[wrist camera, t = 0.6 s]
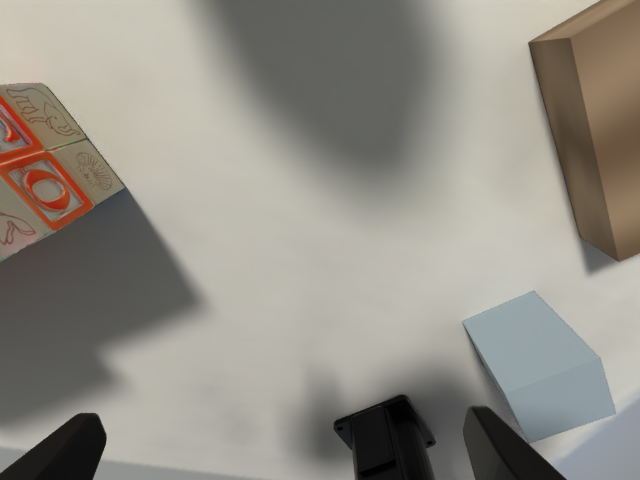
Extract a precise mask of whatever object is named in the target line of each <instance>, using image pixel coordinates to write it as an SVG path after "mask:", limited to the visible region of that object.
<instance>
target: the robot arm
mask: <svg viewBox="0 0 640 480" xmlns="http://www.w3.org/2000/svg"><path fill="white" fill-rule="evenodd" d="M334 430H335V432H336V433H337V434H338V435H339V436H340V438H341V439H342V440H343V441H344V442H345V443H346V444H347V446H348V447H349V448H350V449H351V450H352V453H353V463H354V473H355V480H435V477H434V473H433V470H432V467H431V463H430V460H429V457H428V453H427V450H426V448H428V447H431V446H433V445H435V443H436V441H435V438H434V436H433V434H432V433H431V431H430V430H429V428H428V427H427V425H426V424H425V422H424V421H423V420H422V418H421V417H420V415H419V414H418V412H417V411H416V409H415V408H414V406H413V405H412V403H411V402H410V400H409V399H408V397H407V396H404V395H401V396H398V397H395V398H393V399H390V400H388V401H385V402H383V403H380V404H377V405H375V406H372V407H370V408H367V409H365V410H362V411H360V412H357V413H355V414H352V415H350V416H347V417H345V418H342V419H340V420H337V421H335V422H334ZM463 435H464V440H465V443H466V447H467V451H468V454H469V458H470V461H471V465H472V469H473V472H474V476H475V479H476V480H567V479H566V478H565V477H563V476H562V475H561V474H560V473H559V472H558V471H557V470H556V469H555V468H554V467H553V466H552V465H551V464H549V463H548V462H547V461H546V460H545V459H544V458H543V457H542V456H541V455H540V454H539V453H538V452H536V451H535V450H534V449H533V448H532V447H531V446H530V445H529V444H528V443H527V442H526V441H525V440H523V439H522V438H521V437H520V436H519V435H518V434H517V433H516V432H515V431H514V430H513V429H512V428H511V427H509V426H508V425H507V424H506V423H505V422H504V421H503V420H502V419H501V418H500V417H499V416H498V415H496V414H495V413H494V412H493V411H492V410H491V409H490V408H489V407H487V406H483V405H482V406H470V407H469V408H468V410H467V415H466V419H465V423H464V427H463ZM106 439H107V437H106V432H105V430H104V427H103V425H102V423H101V420H100V418H99V416H98V414H96V413H80V414H77V415H75V416H74V417H72V418H71V419H70V420H69V421H67V422H66V423H65V424H63V425H62V426H61V427H60V428H58V429H57V430H56V431H54V432H53V433H52V434H50V435H49V436H48V437H47V438H45V439H44V440H43V441H41V442H40V443H39V444H37V445H36V446H35V447H34V448H32V449H31V450H30V451H28V452H27V453H26V454H25V455H23V456H22V457H21V458H19V459H18V460H17V461H15V462H14V463H13V464H12V465H10V466H9V467H8V468H6V469H5V470H4V471H3V472H1V473H0V480H93V477H94V474H95V472H96V469H97V467H98V464H99V461H100V459H101V456H102V453H103V451H104V448H105V445H106Z"/></svg>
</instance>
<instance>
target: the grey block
mask: <svg viewBox="0 0 640 480" xmlns="http://www.w3.org/2000/svg"><path fill="white" fill-rule="evenodd" d="M462 322H463V324H464V326H465V328H466V330H467V332H468V334H469V336H470V338H471V340H472V342H473V344H474V346H475V348H476V350H477V352H478V354H479V356H480V358H481V360H482V362H483V364H484V366H485V368H486V370H487V371H488V373H489V375H490V376H491V378H492V380H493V382H494V383H495V385H496V387H497V389H498V390H499V392H500V394H501V396H502V397H503V399H504V401H505V403H506V404H507V406H508V408H509V410H510V411H511V413H512V415H513V417H514V418H515V420H516V422H517V423H518V425H519V427H520V429H521V430H522V432H523V434H524V436H525V437H526V439H527V441H528V443H532V442H535V441H537V440H540V439H543V438H546V437H549V436H552V435H555V434H558V433H561V432H564V431H567V430H570V429H573V428H576V427H579V426H582V425H585V424H588V423H591V422H594V421H597V420H600V419H603V418H606V417H609V416H612V415H614V414H616V411H615V407H614V404H613V400H612V397H611V393H610V390H609V386H608V383H607V379H606V376H605V372H604V369H603V365H602V362H601V359H600V357H599V356H598V355H597V354H596V353H595V352H594V351H593V350H592V349H591V348H590V347H589V346H588V345H587V344H586V343H585V342H584V341H583V340H582V339H581V338H580V337H579V336H578V335H577V334H576V333H575V332H574V331H573V329H572V328H571V327H570V326H569V325H568V324H567V323H566V322H565V321H564V320H563V319H562V318H561V317H560V316H559V315H558V314H557V313H556V312H555V311H554V310H553V309H552V308H551V307H550V306H549V305H548V304H547V303H546V302H545V301H544V300H543V299H542V298H541V297H540V296H539V295H538V294H537V293H536V292H535V291H534V290H533V291H531V292H529V293H526V294H524V295H522V296H519V297H517V298H515V299H512V300H510V301H508V302H505V303H503V304H501V305H498V306H496V307H494V308H491V309H489V310H487V311H484V312H482V313H480V314H477V315H475V316H473V317H470V318H468V319H466V320H463V321H462Z"/></svg>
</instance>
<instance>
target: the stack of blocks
mask: <svg viewBox="0 0 640 480" xmlns="http://www.w3.org/2000/svg"><path fill="white" fill-rule="evenodd" d="M124 188H125V187H124V186H123V184H122V183H121V182H120V180H119V179H118V178H117V176H116V175H115V174H114V173H113V171H112V170H111V169H110V167H109V166H108V165H107V164H106V162H105V161H104V160H103V158H102V157H101V156H100V155H99V153H98V152H97V151H96V150H95V148H94V147H93V146H92V144H91V143H90V142H89V141H88V140H87V139H86V136H85V135H84V133H83V132H82V131H81V129H80V128H79V127H78V125H77V124H76V123H75V122H74V120H73V119H72V118H71V117H70V115H69V114H68V113H67V112H66V110H65V109H64V108H63V106H62V105H61V104H60V103H59V101H58V100H57V99H56V98H55V97H54V95H53V94H52V93H51V92H50V91H49V89H48V88H47V87H46V86H45V85H44V84H43V83H19V84H9V85H0V263H1V262H3V261H5V260H6V259H8V258H10V257H11V256H13V255H14V254H16V253H17V252H19V251H21V250H22V249H24V248H26V247H28V246H30V245H32V244H34V243H36V242H38V241H40V240H42V239H44V238H46V237H48V236H50V235H52V234H54V233H55V232H57V231H58V230H60V229H62V228H63V227H65V226H67V225H68V224H70V223H71V222H73V221H75V220H76V219H78V218H79V217H81V216H82V215H84V214H86V213H87V212H89V211H90V210H92V209H93V208H94V207H96V206H97V205H99V204H100V203H102V202H103V201H105V200H107V199H108V198H110V197H111V196H113V195H114V194H116V193H118V192H119V191H121V190H123V189H124Z"/></svg>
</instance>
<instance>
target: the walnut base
mask: <svg viewBox="0 0 640 480" xmlns="http://www.w3.org/2000/svg"><path fill="white" fill-rule="evenodd" d="M529 46H530V50H531V53H532V57H533V61H534V65H535V68H536V72H537V76H538V80H539V83H540V87H541V91H542V95H543V98H544V102H545V106H546V110H547V113H548V117H549V121H550V125H551V128H552V132H553V136H554V140H555V143H556V147H557V151H558V155H559V158H560V162H561V166H562V170H563V174H564V177H565V181H566V185H567V189H568V192H569V196H570V200H571V204H572V207H573V211H574V215H575V219H576V222H577V226H578V230H579V234H580V237H581V238H582V239H584V240H586V241H587V242H589V243H590V244H592V245H593V246H595V247H597V248H598V249H600V250H601V251H603V252H604V253H606V254H608V255H609V256H611V257H612V258H614V259H615V260H617V261H619V262H620V261H622V260H625V259H627V258H629V257H632V256H634V255H636V254H639V253H640V0H601V1H599V2H597V3H595V4H594V5H592V6H590V7H588V8H587V9H585V10H583V11H582V12H580V13H578V14H576V15H575V16H573V17H571V18H569V19H568V20H566V21H564V22H563V23H561V24H559V25H557V26H556V27H554V28H552V29H551V30H549V31H547V32H545V33H544V34H542V35H540V36H538V37H537V38H535V39H533V40H532V41H530V42H529Z"/></svg>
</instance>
